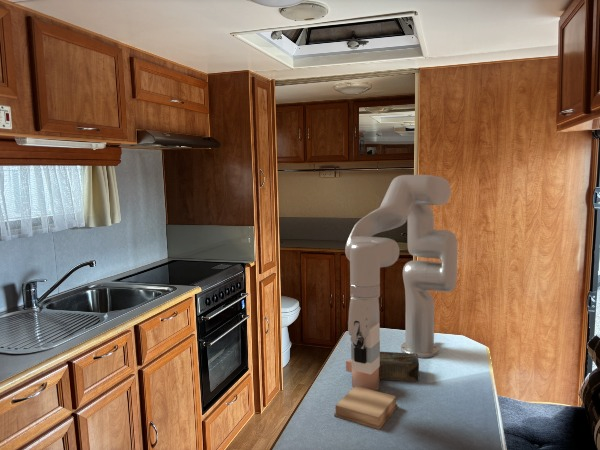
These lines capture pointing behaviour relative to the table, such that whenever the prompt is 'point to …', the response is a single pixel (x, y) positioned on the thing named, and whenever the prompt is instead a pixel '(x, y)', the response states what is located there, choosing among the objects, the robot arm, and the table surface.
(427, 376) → the table surface
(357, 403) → the plinth
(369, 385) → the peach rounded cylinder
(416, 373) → the beverage carton
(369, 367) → the slim carton
